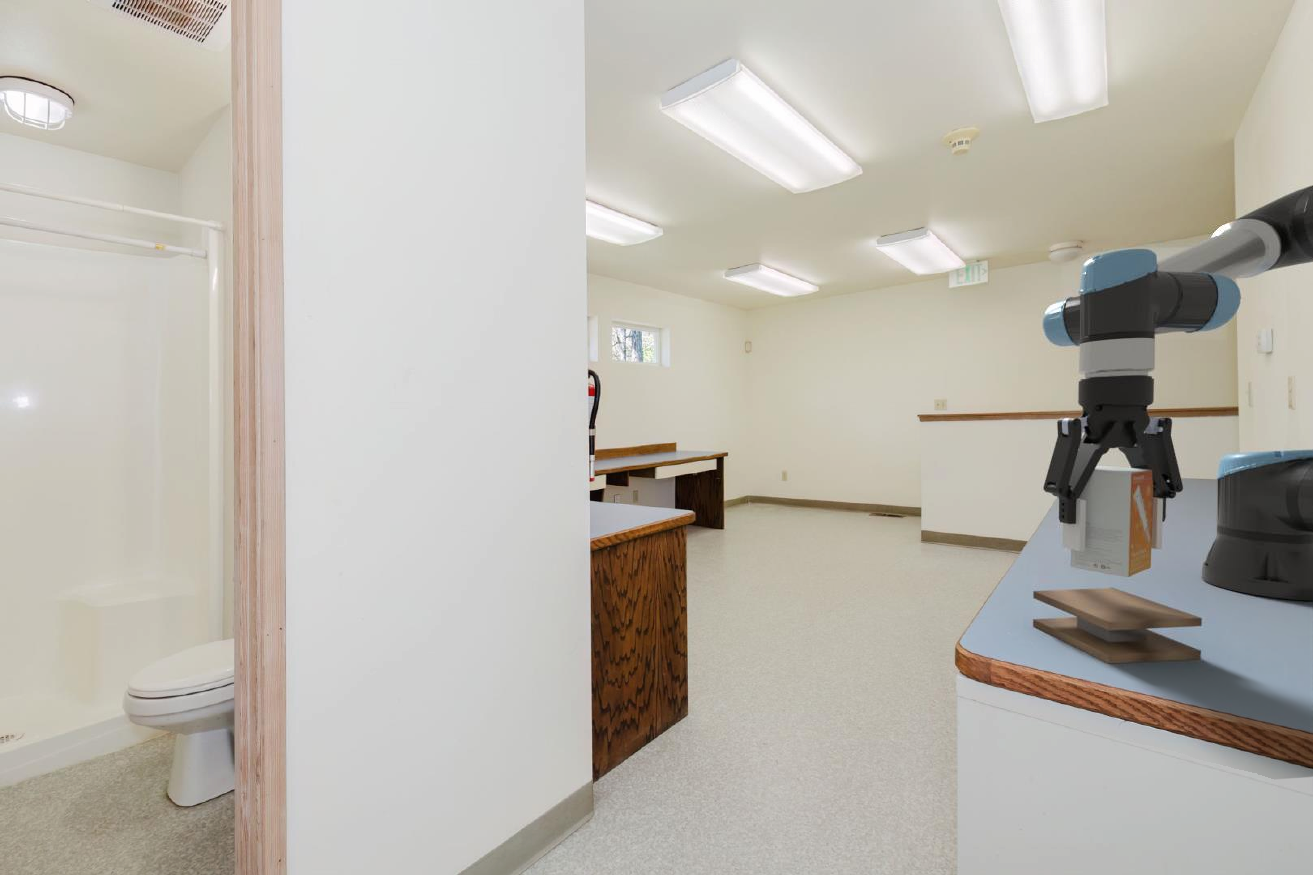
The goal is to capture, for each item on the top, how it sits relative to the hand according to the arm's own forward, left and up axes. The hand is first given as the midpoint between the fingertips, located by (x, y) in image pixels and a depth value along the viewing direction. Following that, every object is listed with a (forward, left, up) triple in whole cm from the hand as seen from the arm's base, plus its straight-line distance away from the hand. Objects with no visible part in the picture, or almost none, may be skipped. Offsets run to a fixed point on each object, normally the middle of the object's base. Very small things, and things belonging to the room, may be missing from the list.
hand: (1111, 547), depth 73 cm
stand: (0, 0, -12) cm, 12 cm away
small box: (0, 0, -3) cm, 3 cm away
